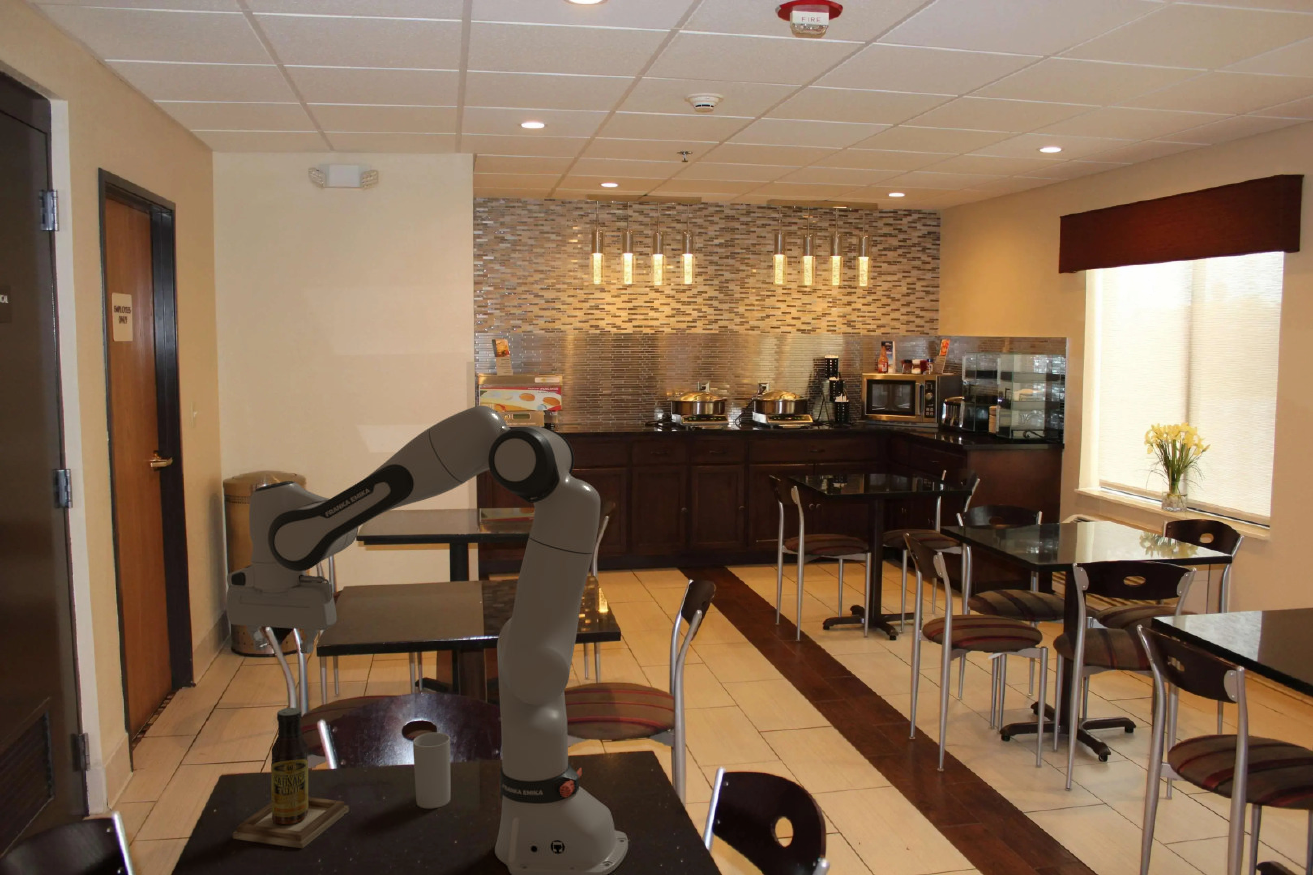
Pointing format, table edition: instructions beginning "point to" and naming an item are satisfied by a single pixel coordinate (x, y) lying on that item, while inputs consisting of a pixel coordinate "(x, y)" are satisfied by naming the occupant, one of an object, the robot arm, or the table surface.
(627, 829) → the table surface
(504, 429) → the robot arm
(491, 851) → the table surface
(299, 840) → the seat plate
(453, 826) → the table surface
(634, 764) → the table surface
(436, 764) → the mug
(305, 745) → the sauce bottle
